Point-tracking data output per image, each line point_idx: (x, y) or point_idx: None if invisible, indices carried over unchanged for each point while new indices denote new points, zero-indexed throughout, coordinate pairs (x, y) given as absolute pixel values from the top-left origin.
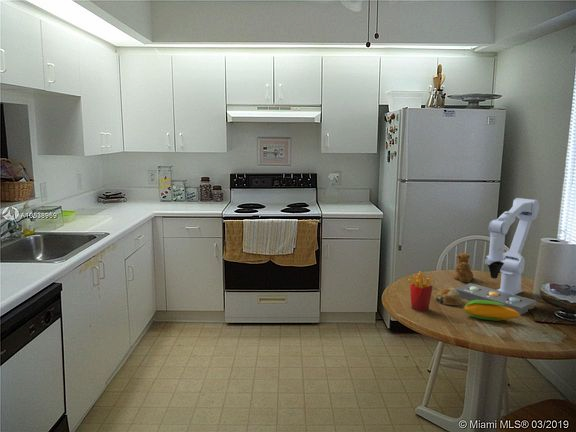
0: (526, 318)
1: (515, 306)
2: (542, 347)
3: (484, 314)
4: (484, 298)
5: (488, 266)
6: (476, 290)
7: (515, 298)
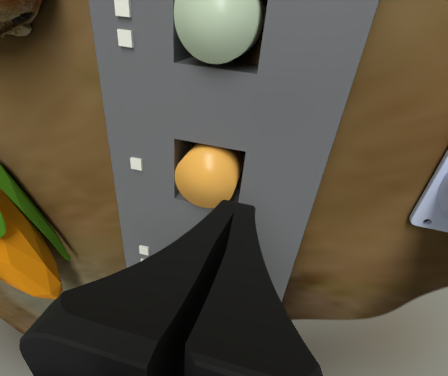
0: None
1: None
2: (10, 314)
3: None
4: (113, 150)
5: (120, 271)
6: (194, 52)
7: None
